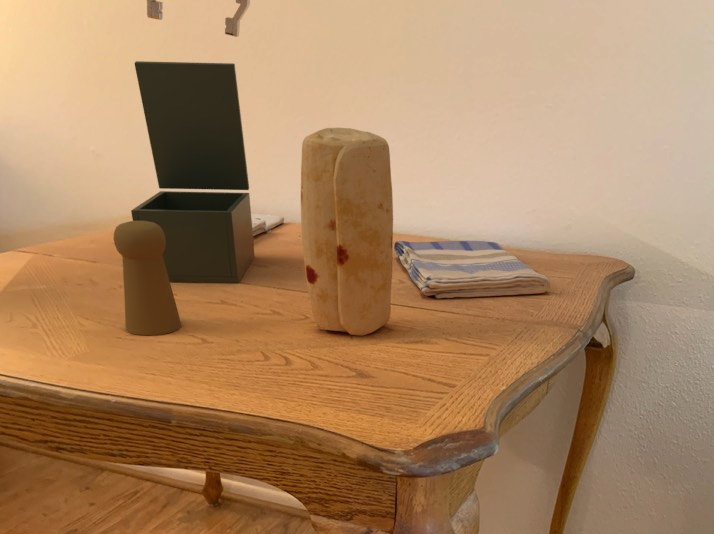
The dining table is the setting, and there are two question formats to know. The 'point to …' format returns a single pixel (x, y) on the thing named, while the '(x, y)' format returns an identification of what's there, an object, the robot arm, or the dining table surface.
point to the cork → (146, 279)
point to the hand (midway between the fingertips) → (193, 27)
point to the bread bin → (202, 234)
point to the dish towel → (467, 269)
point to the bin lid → (194, 124)
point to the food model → (347, 228)
